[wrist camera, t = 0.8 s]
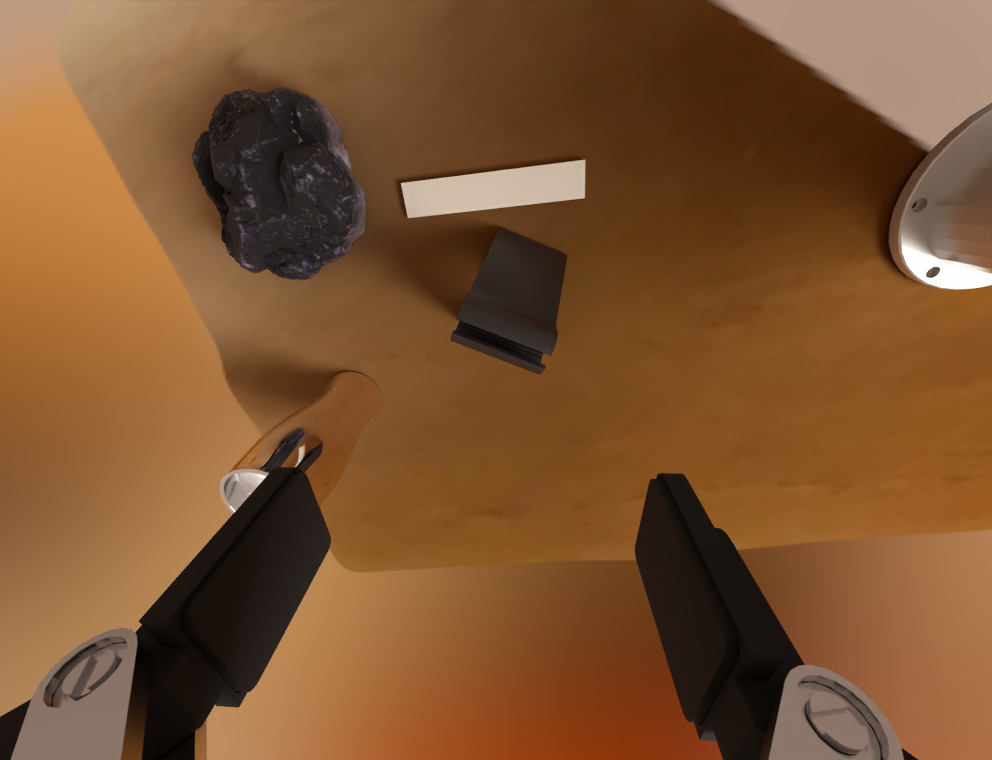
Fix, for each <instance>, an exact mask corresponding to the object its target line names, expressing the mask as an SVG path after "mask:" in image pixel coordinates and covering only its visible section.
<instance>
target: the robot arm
mask: <svg viewBox="0 0 992 760" xmlns="http://www.w3.org/2000/svg"><path fill="white" fill-rule="evenodd" d="M889 247H890V251H891V255H892V258H893V260H894V261H895V263H896V265H897V266H898V268H899V269H900V270H901V271H902V272H903V273H904V274H905V275H906V276H908V277H909V278H911V279H913V280H915V281H917V282H919V283H921V284H925V285H929V286H933V287H936V288H942V289H952V290H961V289H975V288H979V287H984V286H989V285H992V103H991V104H990V105H988V106H986V107H985V108H983V109H982V110H980V111H978V112H977V113H975V114H973V115H972V116H970V117H969V118H968V119H966V120H965V121H964V122H963V123H961V124H960V125H959V126H958V127H956V128H955V129H954V130H953V131H951V132H950V133H949V134H948V135H947V136H946V137H944V139H943V140H941V141H940V142H939V143H938V144H937V145H936V146H935V147H934V148H933V149H932V150H931V151H930V152H929V153H928V155H927V156H926V157H925V158H924V160H923V161H922V162H921V163H920V165H919V166H918V167H917V168H916V170H915V171H914V172H913V174H912V175H911V177H910V178H909V180H908V182H907V183H906V185H905V187H904V188H903V190H902V191H901V194H900V196H899V198H898V201H897V203H896V205H895V208H894V210H893V214H892V218H891V222H890V226H889ZM330 544H331V537H330V534H329V531H328V528H327V526H326V523H325V521H324V518H323V515H322V513H321V510H320V508H319V505H318V502H317V500H316V497H315V495H314V492H313V489H312V487H311V484H310V482H309V479H308V476H307V475H306V474H305V473H303V472H302V470H301V469H300V468H296V467H277V468H274V469H273V470H272V471H271V472H270V473H269V474H268V475H267V476H266V477H265V479H264V480H263V481H262V482H261V483H260V484H259V485H258V487H257V488H256V489H255V490H254V491H253V492H252V493H251V494H250V496H249V497H248V498H247V499H246V500H245V501H244V502H243V503H242V505H241V506H240V507H239V508H238V509H237V510H236V511H235V513H234V514H233V515H232V516H231V517H230V518H229V519H228V521H227V522H226V523H225V524H224V525H223V526H222V527H221V529H220V530H219V531H218V532H217V533H216V534H215V535H214V536H213V537H212V539H211V540H210V541H209V542H208V543H207V544H206V546H205V547H204V548H203V549H202V550H201V551H200V552H199V553H198V554H197V556H196V557H195V558H194V559H193V560H192V561H191V562H190V564H189V565H188V566H187V567H186V568H185V569H184V570H183V571H182V573H181V574H180V575H179V576H178V577H177V578H176V579H175V580H174V582H173V583H172V584H171V585H170V586H169V587H168V588H167V590H166V591H165V592H164V593H163V594H162V595H161V596H160V597H159V599H158V600H157V601H156V602H155V603H154V604H153V605H152V606H151V608H150V609H149V610H148V611H147V612H146V613H145V614H144V616H143V617H142V618H141V619H140V620H139V622H140V623H141V624H142V626H141V627H140V628H139V629H138V630H137V631H136V633H134V632H133V631H132V630H131V629H126V628H120V629H114V630H109V631H107V632H104V633H102V634H99V635H97V636H95V637H93V638H91V639H90V640H88V641H86V642H84V643H82V644H81V645H79V646H78V647H77V648H75V649H74V650H73V651H71V652H70V653H69V654H67V655H66V656H65V657H64V658H62V659H61V660H60V661H59V662H58V663H57V664H56V665H55V666H54V667H53V668H52V669H51V670H50V671H49V672H48V674H47V675H46V676H45V677H44V679H43V680H42V681H41V682H40V684H39V685H38V687H37V689H36V691H35V693H34V695H33V697H32V699H31V700H29V701H27V702H26V703H24V704H22V705H20V706H18V707H17V708H15V709H13V710H11V711H10V712H8V713H6V714H4V715H3V716H1V717H0V760H207V739H206V718H207V717H208V715H209V714H210V712H211V710H212V708H213V707H214V705H216V706H226V707H239V706H240V705H241V703H242V701H243V699H244V697H245V695H246V694H247V692H250V691H251V690H252V689H253V688H254V687H255V686H256V685H257V683H258V681H259V679H260V677H261V676H262V674H263V672H264V670H265V668H266V667H267V665H268V663H269V661H270V659H271V657H272V655H273V653H274V651H275V650H276V648H277V646H278V644H279V642H280V640H281V638H282V636H283V635H284V633H285V631H286V629H287V627H288V625H289V623H290V621H291V620H292V618H293V616H294V614H295V612H296V610H297V608H298V606H299V604H300V603H301V601H302V599H303V597H304V595H305V593H306V591H307V590H308V588H309V586H310V584H311V582H312V580H313V578H314V576H315V575H316V573H317V571H318V569H319V567H320V565H321V563H322V561H323V559H324V558H325V556H326V554H327V552H328V550H329V548H330ZM635 556H636V560H637V564H638V567H639V570H640V574H641V577H642V580H643V584H644V587H645V590H646V593H647V597H648V600H649V603H650V606H651V609H652V613H653V616H654V620H655V623H656V626H657V629H658V632H659V636H660V639H661V642H662V646H663V649H664V652H665V655H666V659H667V662H668V665H669V669H670V672H671V675H672V678H673V681H674V685H675V688H676V691H677V695H678V698H679V701H680V705H681V708H682V711H683V713H684V715H685V718H686V719H687V721H689V722H694V724H695V726H696V730H697V733H698V736H699V739H700V740H713V741H717V743H718V746H719V749H720V751H721V754H722V757H723V760H918V759H916V758H915V757H914V756H912V755H911V754H909V753H908V752H907V751H905V750H904V749H902V748H901V744H900V742H899V739H898V738H897V735H896V734H895V731H894V730H893V728H892V726H891V724H890V723H889V721H888V720H887V719H886V718H885V716H884V715H883V713H882V712H881V711H880V709H879V708H878V707H877V706H876V705H875V704H874V703H873V702H872V701H871V700H870V699H869V698H868V697H867V696H866V695H865V694H864V693H863V692H862V691H861V690H860V689H859V688H857V687H856V686H854V685H853V684H852V683H850V682H849V681H847V680H846V679H845V678H843V677H841V676H839V675H838V674H835V673H834V672H831V671H830V670H827V669H825V668H821V667H817V666H814V665H804V663H803V661H802V660H801V658H800V656H799V654H798V653H797V651H796V650H795V648H794V646H793V644H792V643H791V641H790V639H789V638H788V636H787V634H786V633H785V631H784V629H783V627H782V626H781V624H780V622H779V621H778V619H777V617H776V616H775V614H774V612H773V611H772V609H771V607H770V605H769V604H768V602H767V600H766V599H765V597H764V595H763V594H762V592H761V590H760V589H759V587H758V585H757V583H756V582H755V580H754V578H753V577H752V575H751V573H750V572H749V570H748V568H747V567H746V565H745V563H744V561H743V560H742V558H741V556H740V555H739V553H738V551H737V550H736V548H735V546H734V544H733V543H732V541H731V539H730V538H729V537H728V535H727V534H726V532H724V531H723V530H722V529H719V528H714V526H713V524H712V523H711V521H710V519H709V517H708V515H707V514H706V512H705V510H704V508H703V507H702V505H701V503H700V501H699V500H698V498H697V496H696V494H695V492H694V491H693V489H692V487H691V485H690V484H689V482H688V480H687V478H686V477H685V476H684V475H683V474H667V473H660V474H658V475H657V477H656V479H651V480H650V482H649V486H648V491H647V495H646V500H645V504H644V509H643V513H642V518H641V522H640V527H639V531H638V536H637V540H636V545H635Z"/></svg>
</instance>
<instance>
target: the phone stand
mask: <svg viewBox="0 0 992 760" xmlns="http://www.w3.org/2000/svg"><path fill="white" fill-rule="evenodd" d="M566 260H567V255H565V254H563V253H561V252H558V251H556V250H553V249H551V248H549V247H546V246H544V245H541V244H539V243H537V242H534V241H532V240H529V239H527V238H525V237H522V236H520V235H517V234H515V233H513V232H510V231H508V230H505V229H503V228H501V227H500V228H499V230H498V232H497V234H496V236H495V239H494V241H493V243H492V245H491V247H490V249H489V252H488V254H487V256H486V258H485V260H484V262H483V264H482V267H481V269H480V271H479V273H478V275H477V277H476V280H475V282H474V284H473V286H472V288H471V290H470V292H469V294H468V295H467V296H466V298H465V300H464V302H463V305H462V307H461V309H460V312H459V315H458V317H457V319H458V320H460V321H459V324H458V326H457V329H456V331H455V330H453V332H452V336H451V341H453V342H456V343H458V344H461V345H463V346H466V347H469V348H471V349H474V350H476V351H479V352H482V353H484V354H487V355H490V356H492V357H495V358H497V359H500V360H503V361H505V362H508V363H510V364H513V365H516V366H518V367H521V368H524V369H526V370H529V371H531V372H534V373H537V374H541V373H542V372H543V371H544V369H545V365H543V364H540V362H541V359H542V355H543V353H545V354H548V355H550V356H551V355H552V353H553V350H554V347H555V344H556V341H557V336H558V331H557V329H556V320H557V314H558V308H559V302H560V296H561V290H562V284H563V278H564V272H565V266H566Z"/></svg>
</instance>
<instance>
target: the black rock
mask: <svg viewBox="0 0 992 760" xmlns="http://www.w3.org/2000/svg"><path fill="white" fill-rule="evenodd" d="M192 157H193V161H194V166H195V168H196V170H197V172H198V174H199V178H200V179H201V182H202V185H203V186H204V187H205V190H206V192H207V195H208V196H209V198H210V199H211V200H212V201H213V202H214V204H215V205H216V206H217V209H218V211H219V212H220V215H221V222H222V225H223V227H222V231H221V237H222V241H223V242H224V243H225V244H226V247H227V250H228V253H229V255H230V256H232V257H233V258H235V261H236V262H238V263H239V264H240V266H241V267H243V268H245V269H247V270H249V271H250V272H252V273H259V272H261V271H263V270H265V269H268V270H270V271H271V272H272V274H276V275H277V276H279V277H282V278H287V279H293V280H296V279H299V280H304V279H310V278H311V277H313V276H315V275H317V273H318V272H319V271H320V269H321V267H322V266H323V265H325V264H328V263H331V262H334V261H336V260H338V259H339V258H340V257H341V256H344V255H346V254H347V253H348V252H349V251H350V249H351V246H352V242H353V241H355V240H356V239H357V238H358V237H359V236H361V235H362V234H363V233H364V231H365V213H366V202H365V193H364V189H363V188H362V187H361V186H360V185H359V184H358V182H357V180H356V179H355V177H354V175H353V173H352V169H351V164H350V160H349V157H348V151H347V150H346V149H345V148H344V144H343V138H342V134H341V131H340V129H339V127H338V125H337V122H336V121H335V120H334V118H333V117H332V115H331V114H330V113H329V111H328V110H327V108H326V107H325V106H324V105H323V104H322V103H321V101H320V100H319V99H316V98H313V97H309V96H307V95H304V94H301V93H298V92H296V91H293V90H289V89H286V88H278V89H275V90H272V91H269V92H265V93H260V92H255V91H253V90H243V91H236V92H234V93H232V94H229V95H224V97H223V98H222V100H221V101H220V102H219V104H218V106H217V107H216V108H215V110H214V113H213V114H212V119H211V121H210V124H209V132H208V131H204V133H202V134H201V135H200V138H199V140H198V141H197V143H195V149H194V152H193V155H192Z"/></svg>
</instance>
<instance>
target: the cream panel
mask: <svg viewBox="0 0 992 760" xmlns="http://www.w3.org/2000/svg"><path fill="white" fill-rule="evenodd" d="M401 186H402V191H403V196H404V201H405V206H406V211H407V216H408V218H414V217H423V216H432V215H441V214H450V213H458V212H467V211H476V210H485V209H494V208H503V207H512V206H521V205H529V204H538V203H547V202H556V201H565V200H574V199H583V198H585V160H579V161H571V162H563V163H555V164H547V165H539V166H531V167H524V168H516V169H508V170H500V171H492V172H484V173H476V174H469V175H461V176H453V177H445V178H437V179H429V180H421V181H414V182H406V183H401Z"/></svg>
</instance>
